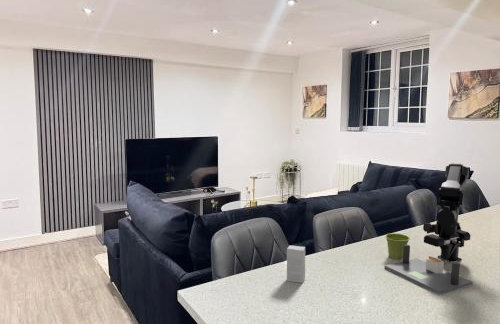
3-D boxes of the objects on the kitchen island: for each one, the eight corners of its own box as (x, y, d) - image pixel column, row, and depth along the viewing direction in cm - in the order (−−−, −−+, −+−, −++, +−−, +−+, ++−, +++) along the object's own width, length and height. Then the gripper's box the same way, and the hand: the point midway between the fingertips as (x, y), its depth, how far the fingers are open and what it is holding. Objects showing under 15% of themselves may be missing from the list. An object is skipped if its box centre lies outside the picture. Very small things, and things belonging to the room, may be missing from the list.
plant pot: (410, 261, 154) (411, 241, 153) (386, 260, 156) (387, 239, 155) (406, 253, 163) (407, 234, 162) (383, 252, 165) (383, 232, 164)
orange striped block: (431, 267, 145) (432, 255, 144) (442, 272, 140) (443, 259, 140) (425, 268, 144) (426, 256, 143) (437, 273, 139) (438, 261, 139)
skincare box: (305, 278, 138) (305, 246, 137) (303, 283, 134) (303, 250, 133) (288, 276, 140) (289, 244, 139) (286, 281, 136) (286, 248, 135)
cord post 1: (405, 261, 152) (406, 244, 151) (410, 263, 150) (411, 245, 149) (401, 262, 151) (402, 245, 150) (406, 264, 149) (406, 246, 148)
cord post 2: (453, 281, 133) (454, 262, 132) (460, 284, 131) (461, 264, 130) (448, 283, 132) (450, 263, 131) (455, 285, 130) (456, 266, 129)
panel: (416, 261, 155) (416, 258, 155) (472, 284, 133) (472, 281, 133) (384, 268, 148) (384, 265, 147) (438, 294, 126) (439, 290, 126)
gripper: (446, 211, 154) (443, 249, 155) (412, 217, 146) (410, 256, 148) (472, 218, 144) (469, 258, 146) (438, 224, 136) (435, 266, 138)
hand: (445, 259), depth 144 cm, fingers closed
